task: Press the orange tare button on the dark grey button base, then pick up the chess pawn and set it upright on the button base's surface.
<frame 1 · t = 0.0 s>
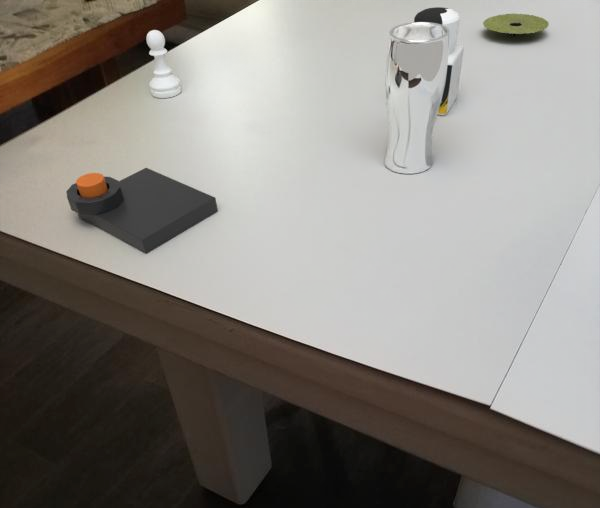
beer glass: (408, 164, 76), on the table
medicine bottle: (427, 105, 88), on the table
tare button: (91, 185, 68), point 4 cm above the table, slide at 0.1 cm
chess pawn: (167, 93, 97), on the table
green disc: (513, 36, 106), on the table
dark grey button base: (148, 215, 71), on the table
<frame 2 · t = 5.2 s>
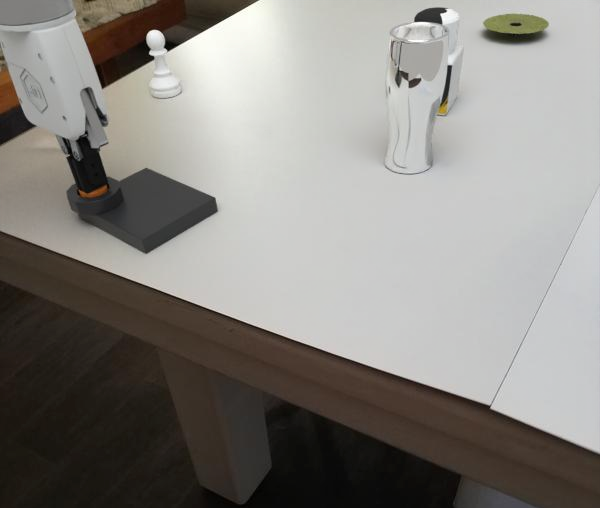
hand: (93, 186, 68), 4 cm above the table, tool pointing down, fingers closed
tare button: (94, 192, 69), point 3 cm above the table, slide at -0.8 cm, touching gripper
everything else where it was.
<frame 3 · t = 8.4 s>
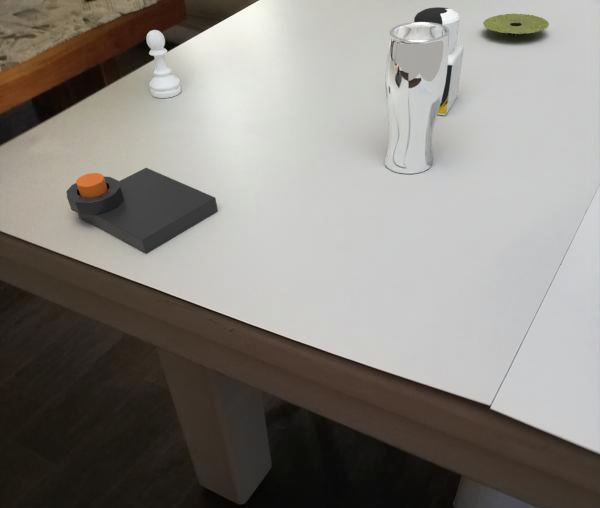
tare button: (92, 185, 68), point 4 cm above the table, slide at 0.1 cm
everything else where it was.
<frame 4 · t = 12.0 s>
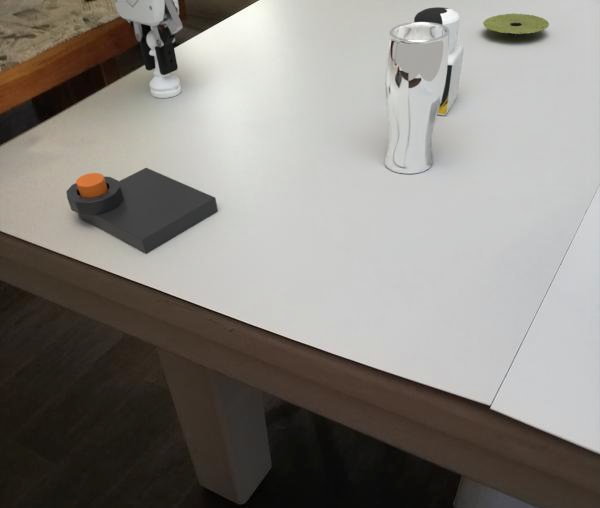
hand: (161, 68, 94), 4 cm above the table, tool pointing down, fingers closed on chess pawn, 3 cm apart
chess pawn: (167, 93, 97), on the table, touching gripper
everything else where it was.
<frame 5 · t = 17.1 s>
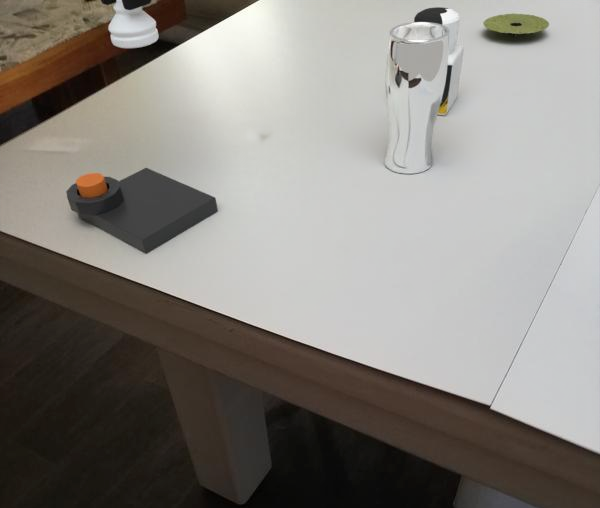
hand: (126, 2, 60), 20 cm above the table, tool pointing down, fingers closed on chess pawn, 2 cm apart
chess pawn: (136, 43, 63), point 16 cm above the table, touching gripper
everything else where it was.
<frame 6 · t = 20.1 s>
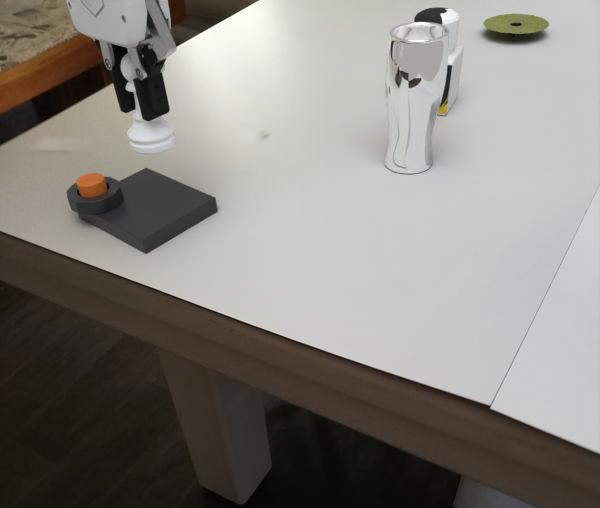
hand: (145, 110, 61), 12 cm above the table, tool pointing down, fingers closed on chess pawn, 2 cm apart
chess pawn: (154, 146, 64), point 8 cm above the table, touching gripper
everything else where it was.
when the fingers open (6 cm above the table, at t = 22.1 s): chess pawn stays where it is, resting on dark grey button base.
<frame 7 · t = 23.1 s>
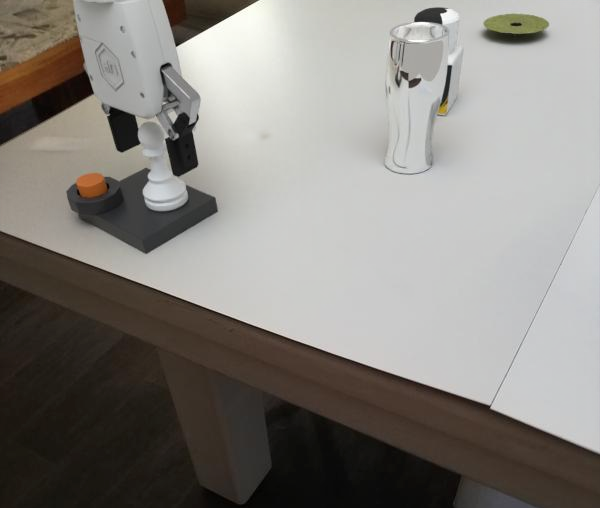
hand: (157, 159, 65), 7 cm above the table, tool pointing down, fingers open, 9 cm apart
chess pawn: (167, 202, 69), point 2 cm above the table, touching dark grey button base
everything else where it was.
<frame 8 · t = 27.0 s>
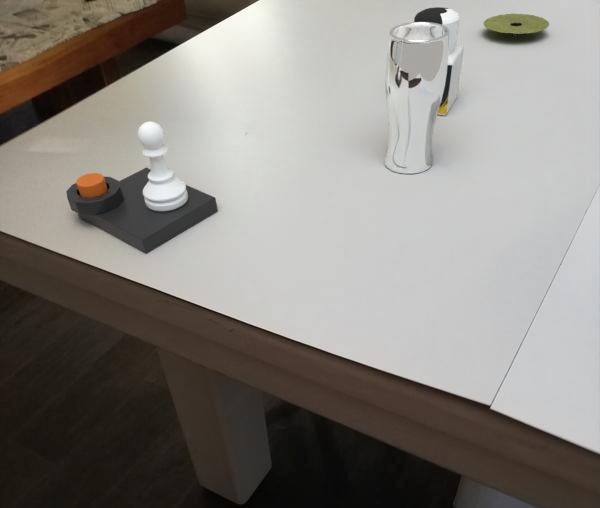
nothing on the table moved.
at the end: tare button pushed in 0.9 cm at the most during the clip, back to where it started at the end; chess pawn inside the target area on the dark grey button base (0.1 cm from its centre), point 1.7 cm above the dark grey button base's base; chess pawn tilted 0° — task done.
